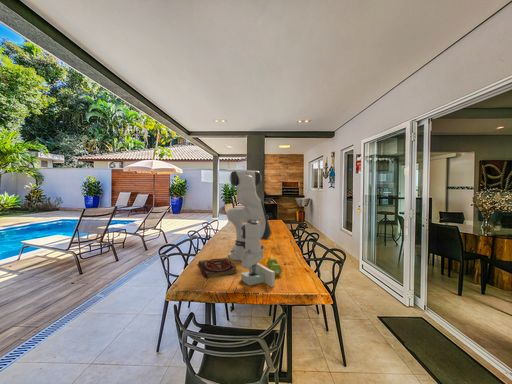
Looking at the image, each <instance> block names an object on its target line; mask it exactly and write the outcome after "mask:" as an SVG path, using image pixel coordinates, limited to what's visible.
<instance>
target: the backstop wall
mask: <svg viewBox="0 0 512 384" xmlns="http://www.w3.org/2000/svg"><path fill="white" fill-rule="evenodd" d="M256 271H258V272H259V273H261V274H263V275H265V277H264V283H265V284H266V285H268V286H270V287H275V283H276V280H275V278H276V276H275V272H274V271H272V270H270V269H269V268H268V267H267V266H264V265H263V264H260V262H258V263H257V267H256Z"/></svg>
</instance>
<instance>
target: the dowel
mask: <svg viewBox="0 0 512 384" xmlns="http://www.w3.org/2000/svg"><path fill="white" fill-rule="evenodd" d="M252 270H253V272H252V273H250V276H255V265H253V266H252Z"/></svg>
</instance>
